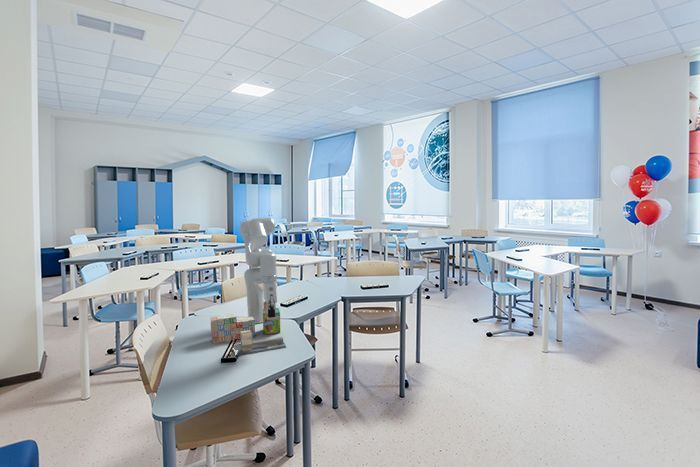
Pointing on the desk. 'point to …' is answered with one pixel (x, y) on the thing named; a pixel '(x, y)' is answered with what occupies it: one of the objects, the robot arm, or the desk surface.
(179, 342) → the desk surface
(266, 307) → the block
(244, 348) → the rail fixture
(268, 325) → the chalk box
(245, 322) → the stack of blocks
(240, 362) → the desk surface
